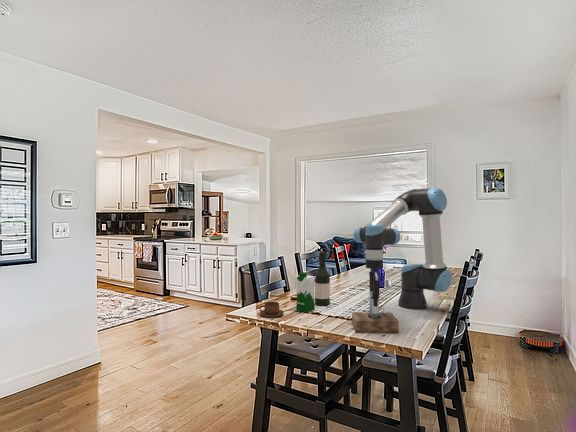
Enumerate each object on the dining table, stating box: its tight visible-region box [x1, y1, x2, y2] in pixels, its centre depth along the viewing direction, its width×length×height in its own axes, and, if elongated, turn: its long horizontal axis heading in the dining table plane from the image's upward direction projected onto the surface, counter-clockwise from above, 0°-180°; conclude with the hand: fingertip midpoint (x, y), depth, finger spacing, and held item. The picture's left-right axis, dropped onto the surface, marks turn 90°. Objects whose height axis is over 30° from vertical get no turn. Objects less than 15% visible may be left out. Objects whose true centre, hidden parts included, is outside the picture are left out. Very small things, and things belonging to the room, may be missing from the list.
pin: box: [369, 290, 380, 318], centre depth 163 cm, size 4×4×14 cm
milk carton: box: [294, 271, 316, 314], centre depth 194 cm, size 9×9×20 cm
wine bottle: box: [314, 250, 331, 307], centre depth 207 cm, size 8×8×30 cm
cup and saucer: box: [259, 301, 285, 318], centre depth 184 cm, size 12×12×6 cm
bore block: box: [351, 311, 400, 334], centre depth 163 cm, size 18×14×5 cm
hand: (374, 311), depth 163 cm, fingers closed on pin, 4 cm apart
